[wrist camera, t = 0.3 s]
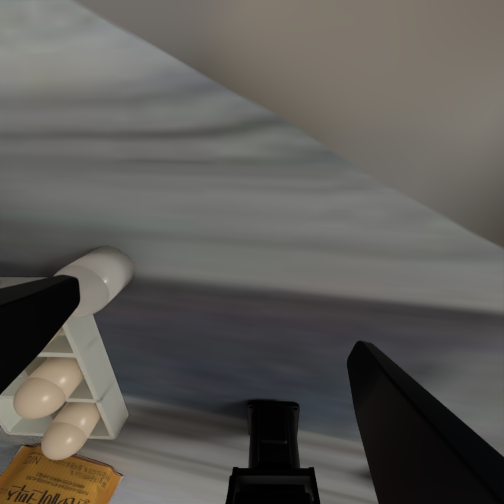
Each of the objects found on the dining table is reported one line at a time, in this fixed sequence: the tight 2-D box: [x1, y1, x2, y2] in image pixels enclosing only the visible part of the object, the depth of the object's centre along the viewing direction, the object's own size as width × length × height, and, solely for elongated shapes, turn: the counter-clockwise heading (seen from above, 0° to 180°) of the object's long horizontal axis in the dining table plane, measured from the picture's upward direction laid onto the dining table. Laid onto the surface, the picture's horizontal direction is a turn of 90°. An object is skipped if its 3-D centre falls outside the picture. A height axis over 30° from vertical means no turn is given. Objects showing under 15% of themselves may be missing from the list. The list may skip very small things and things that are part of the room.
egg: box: [54, 246, 134, 317], centre depth 20 cm, size 4×4×6 cm
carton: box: [0, 277, 129, 460], centre depth 25 cm, size 22×15×7 cm
